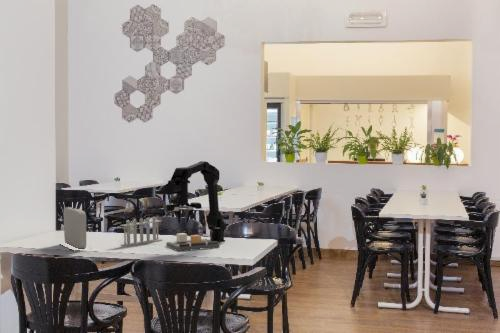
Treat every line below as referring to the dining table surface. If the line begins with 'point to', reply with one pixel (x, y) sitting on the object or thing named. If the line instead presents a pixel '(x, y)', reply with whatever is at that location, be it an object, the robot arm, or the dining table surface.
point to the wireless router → (75, 227)
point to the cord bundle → (198, 244)
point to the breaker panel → (176, 246)
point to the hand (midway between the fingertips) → (182, 223)
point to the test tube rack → (140, 232)
